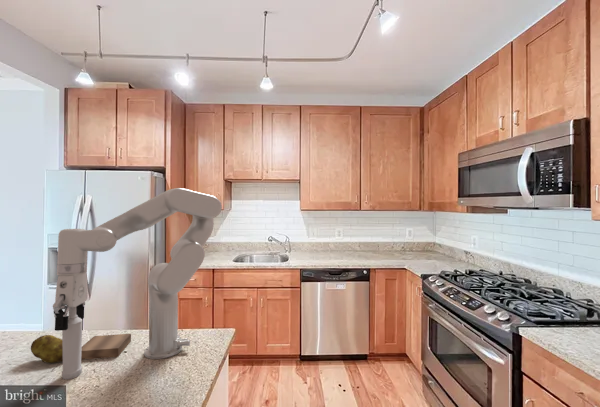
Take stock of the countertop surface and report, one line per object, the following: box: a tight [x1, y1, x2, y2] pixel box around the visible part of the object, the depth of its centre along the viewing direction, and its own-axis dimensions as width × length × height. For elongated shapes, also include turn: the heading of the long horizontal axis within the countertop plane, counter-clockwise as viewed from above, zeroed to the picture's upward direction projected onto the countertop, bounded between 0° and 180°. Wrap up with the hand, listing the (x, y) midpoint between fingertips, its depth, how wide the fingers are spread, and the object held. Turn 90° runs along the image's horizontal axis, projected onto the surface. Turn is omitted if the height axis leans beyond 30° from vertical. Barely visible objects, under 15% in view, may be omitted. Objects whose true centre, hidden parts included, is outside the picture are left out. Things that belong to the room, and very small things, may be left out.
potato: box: [30, 334, 63, 364], centre depth 107 cm, size 8×13×8 cm, turn 67°
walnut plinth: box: [81, 333, 132, 361], centre depth 115 cm, size 13×13×3 cm
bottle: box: [61, 307, 83, 380], centre depth 98 cm, size 5×5×25 cm
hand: (70, 324), depth 98 cm, fingers open, 9 cm apart
